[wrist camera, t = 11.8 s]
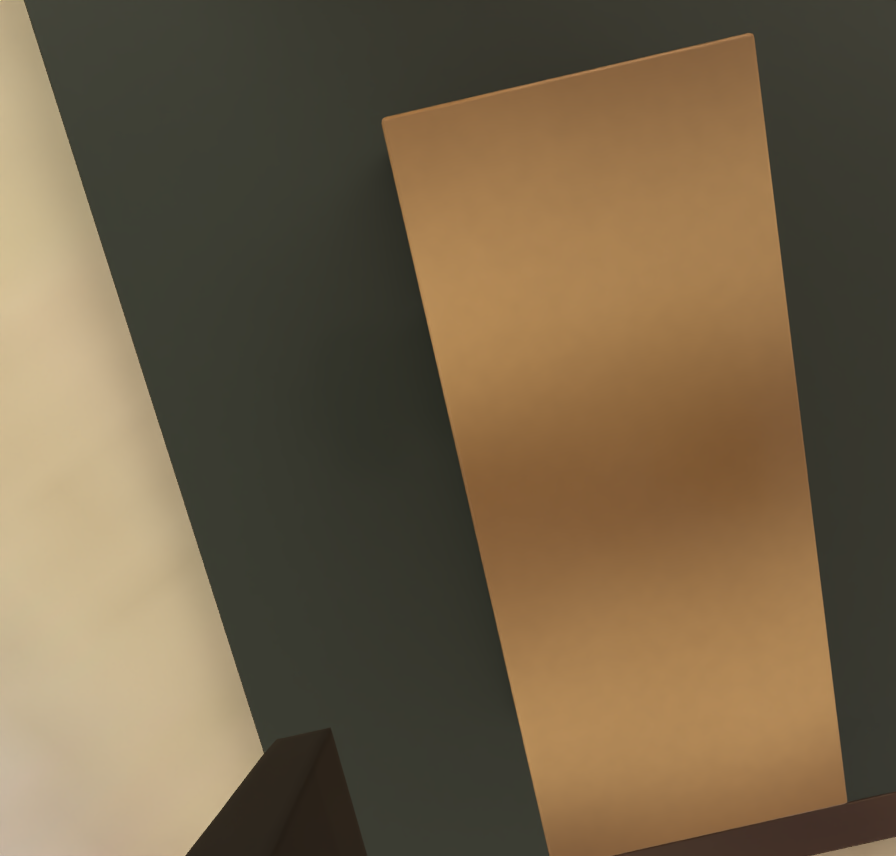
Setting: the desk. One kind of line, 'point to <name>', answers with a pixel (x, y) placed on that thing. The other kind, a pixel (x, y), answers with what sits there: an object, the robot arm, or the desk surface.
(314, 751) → the robot arm
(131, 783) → the desk surface
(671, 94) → the eraser
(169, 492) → the desk surface
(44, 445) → the desk surface
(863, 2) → the slate board
